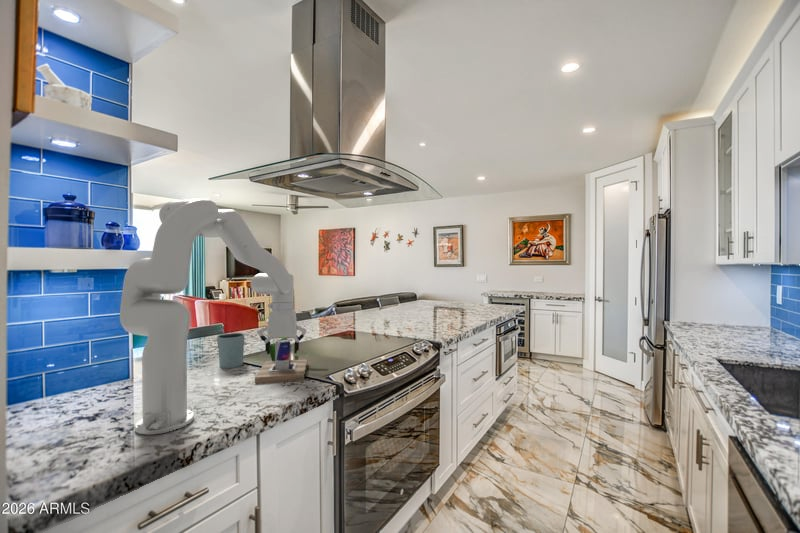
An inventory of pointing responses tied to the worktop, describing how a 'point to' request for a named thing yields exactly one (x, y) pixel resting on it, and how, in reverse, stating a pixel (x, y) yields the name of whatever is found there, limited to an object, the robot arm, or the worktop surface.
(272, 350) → the bell pepper
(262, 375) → the slotted board
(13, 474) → the worktop surface
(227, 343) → the grey teal cup
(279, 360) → the energy drink
